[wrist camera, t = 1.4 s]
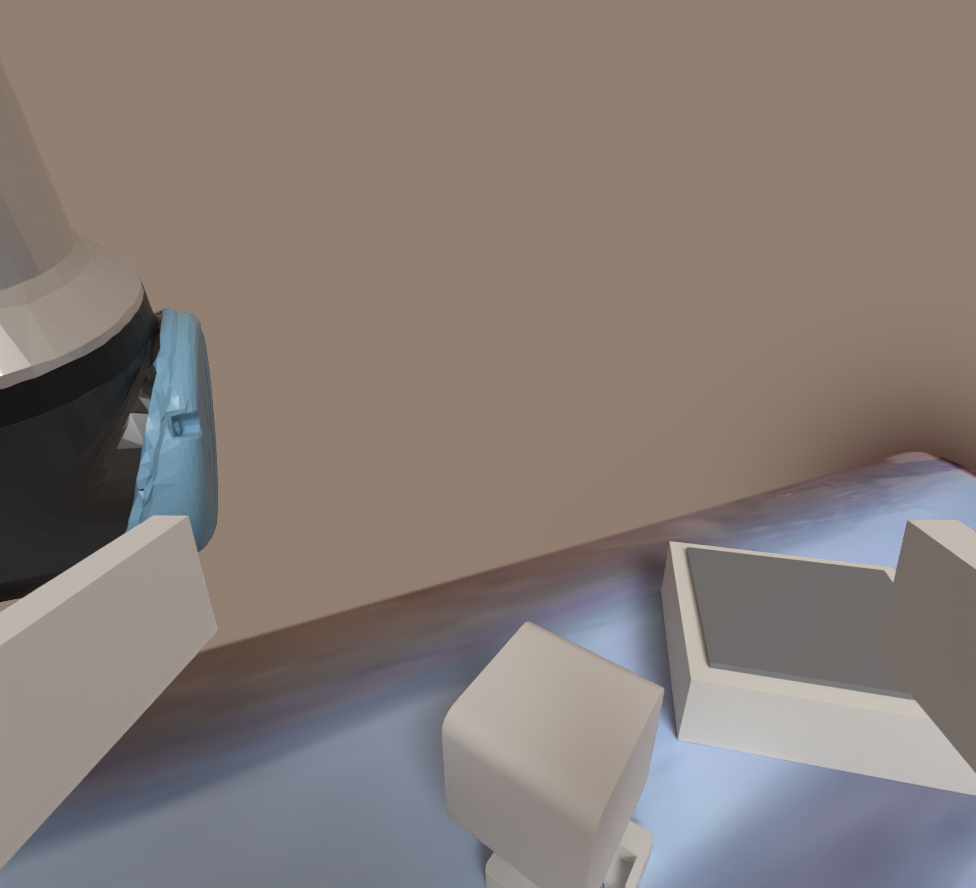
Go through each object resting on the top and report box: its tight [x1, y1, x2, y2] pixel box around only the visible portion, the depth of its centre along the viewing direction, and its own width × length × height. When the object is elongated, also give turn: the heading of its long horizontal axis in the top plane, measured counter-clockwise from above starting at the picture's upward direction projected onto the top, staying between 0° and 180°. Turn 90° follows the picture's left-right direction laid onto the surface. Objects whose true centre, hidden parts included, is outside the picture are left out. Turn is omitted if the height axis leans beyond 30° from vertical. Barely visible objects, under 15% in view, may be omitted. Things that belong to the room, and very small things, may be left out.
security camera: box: [441, 621, 664, 888], centre depth 22 cm, size 6×7×10 cm
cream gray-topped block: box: [661, 541, 976, 795], centre depth 32 cm, size 14×12×5 cm
